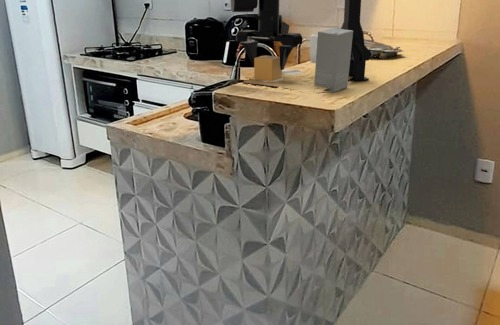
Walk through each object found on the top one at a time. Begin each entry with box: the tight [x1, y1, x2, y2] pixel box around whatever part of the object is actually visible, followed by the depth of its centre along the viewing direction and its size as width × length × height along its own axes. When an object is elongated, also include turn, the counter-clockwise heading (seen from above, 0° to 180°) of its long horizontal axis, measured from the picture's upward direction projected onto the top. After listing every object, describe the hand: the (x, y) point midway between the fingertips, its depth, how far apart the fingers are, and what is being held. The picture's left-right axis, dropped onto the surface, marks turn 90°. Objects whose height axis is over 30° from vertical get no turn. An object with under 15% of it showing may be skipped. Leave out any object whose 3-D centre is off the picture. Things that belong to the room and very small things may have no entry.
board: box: [242, 69, 304, 89], centre depth 147 cm, size 11×22×1 cm, turn 147°
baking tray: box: [364, 38, 404, 60], centre depth 193 cm, size 30×22×5 cm
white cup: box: [309, 33, 318, 64], centre depth 171 cm, size 8×8×10 cm
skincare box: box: [313, 27, 353, 93], centre depth 132 cm, size 8×7×16 cm
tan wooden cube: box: [253, 54, 283, 81], centre depth 141 cm, size 6×6×6 cm
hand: (268, 68), depth 141 cm, fingers open, 9 cm apart
